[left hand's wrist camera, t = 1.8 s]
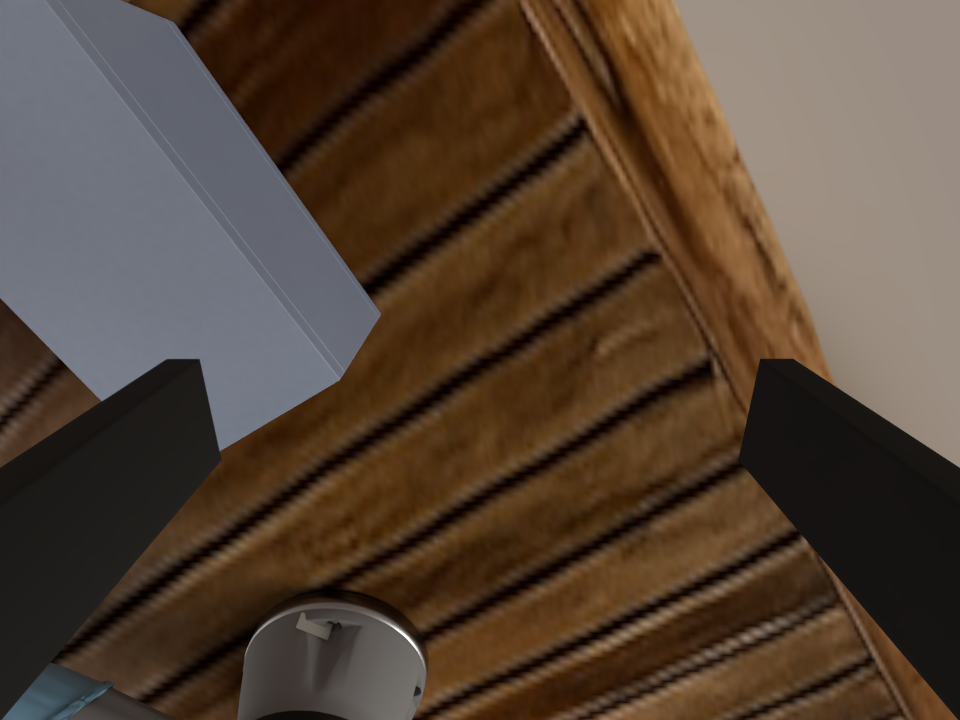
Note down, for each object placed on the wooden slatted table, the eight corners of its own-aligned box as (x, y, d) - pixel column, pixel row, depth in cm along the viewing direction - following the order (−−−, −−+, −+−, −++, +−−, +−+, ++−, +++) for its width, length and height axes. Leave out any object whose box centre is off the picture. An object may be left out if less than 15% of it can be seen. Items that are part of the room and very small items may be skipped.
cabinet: (40, 132, 30) (-173, 123, 20) (173, 21, 27) (7, -48, 18) (259, 389, 36) (175, 477, 26) (381, 314, 33) (340, 379, 24)
